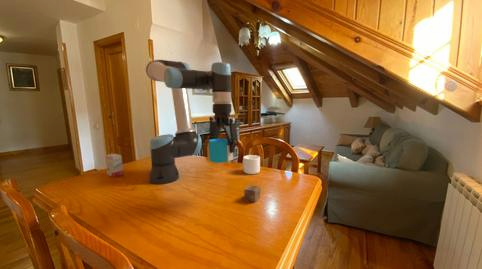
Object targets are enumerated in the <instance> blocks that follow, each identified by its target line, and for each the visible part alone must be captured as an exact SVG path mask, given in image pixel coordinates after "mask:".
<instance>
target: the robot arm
mask: <svg viewBox="0 0 482 269" xmlns="http://www.w3.org/2000/svg"><path fill="white" fill-rule="evenodd" d="M210 67H211V70H206V71H205V70H197V69H195V70H194V69H192V68H191V67H190V66H189V64H188V63H186V62H182V61H176V60H166V59H155V60H151V61H150V62H148V63H147V65H146V67H145V73H146V76H147V77H148V78H149V79H151V80H152V81H155V82H161V83H162V82H163V83H164V85H165V86H166V88H168V89H171V95H172V102H173V108H174V116H175V124H176V129H177V130H176V131H175V133H174V135H173V133H172V134H171V133H170V134H167V133H166V134H162V135H161V134H160V135H157V136H155V137H152V138H151V139H150V140H149V141H150V142H149V150H150V161H151V168H150V171H149V175H148V181H149V183H151V184H155V185H156V184H157V185H163V184H170V183H173V182H176V181H177V180H179V178H180V173H179V170H178V166H177V164H176V159H179V158H184V157H192V156H195V155H198V154H199V153H200V152H201V150H202V145H203V144H202V137H201V135H200V134H197V130H195V129H194V126H193V120H192V112H191V107H190V100H189V99H190V98H189V92H188V90H189V89H190V90H191V89H192V90H202V91H210V90H212V91H211V92H212V93H211V94H212V96H211V97H212V113H213V114H214V116H210V117H209V128H208V129H209V130H208V132H209V133H208V139H209V140H212V139H219V136H220V134H221V129H223V131H224V134H225V139H227V141H228V144H227V161H228V162H230V161H233V160H234V152H235V144H238V143H239V139H238V138H239V137H238V132H237V131H238V130H237V118H236V117H231V113H232V104H231V103H232V72H231V71H232V69H231V64H230V63H229V62H228V63H227V62H220V61H218V62H213V63H212V64H211V66H210Z"/></svg>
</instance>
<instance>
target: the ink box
mask: <svg viewBox="0 0 482 269" xmlns="http://www.w3.org/2000/svg"><path fill="white" fill-rule="evenodd" d="M104 156H105V164H106V173H107V176H110V177H113V178H117V176H118V177H121V176H124V167H123V160H122V159H123V158H122V154H117V153H109V154H105V155H104Z"/></svg>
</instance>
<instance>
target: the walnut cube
mask: <svg viewBox="0 0 482 269" xmlns="http://www.w3.org/2000/svg"><path fill="white" fill-rule="evenodd" d="M243 192H244V193H243V194H244V196H243V197H244V200H243V201H245V202H250V203H255V204H256V203H257V202H258V200H260V198H261V186H258V185H253V184H249V185H247V186H246V187H245V188H244V189H243Z"/></svg>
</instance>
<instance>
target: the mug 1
mask: <svg viewBox="0 0 482 269" xmlns="http://www.w3.org/2000/svg"><path fill="white" fill-rule="evenodd" d="M208 142H209V143H208V147H209V150H208V151H209V162H211V163H215V164H220V163H221V164H222V163H227V162H229V161H227V144H228V141H227V138H218V139H212V140H209V141H208Z"/></svg>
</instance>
